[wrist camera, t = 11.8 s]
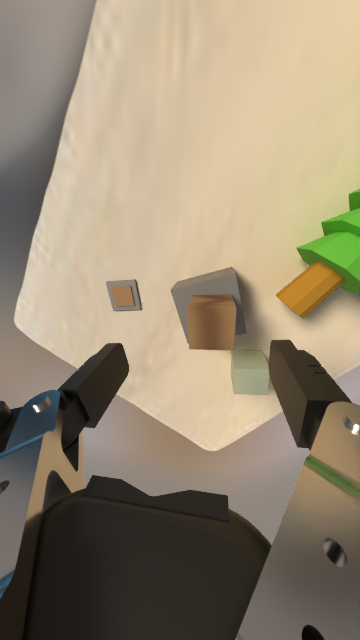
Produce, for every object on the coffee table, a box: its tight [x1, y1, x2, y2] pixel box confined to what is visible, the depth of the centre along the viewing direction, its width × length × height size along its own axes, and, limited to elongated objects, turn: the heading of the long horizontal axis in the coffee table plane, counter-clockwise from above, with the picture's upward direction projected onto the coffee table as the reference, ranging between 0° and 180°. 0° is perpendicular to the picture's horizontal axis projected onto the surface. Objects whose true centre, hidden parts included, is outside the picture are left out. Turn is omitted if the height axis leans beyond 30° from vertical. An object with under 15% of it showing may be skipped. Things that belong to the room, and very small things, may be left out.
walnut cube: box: [187, 294, 236, 350], centre depth 26 cm, size 6×6×6 cm
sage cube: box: [231, 350, 270, 395], centre depth 36 cm, size 6×6×6 cm
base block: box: [171, 267, 247, 343], centre depth 31 cm, size 10×10×6 cm
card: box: [106, 280, 141, 311], centre depth 36 cm, size 6×6×1 cm
